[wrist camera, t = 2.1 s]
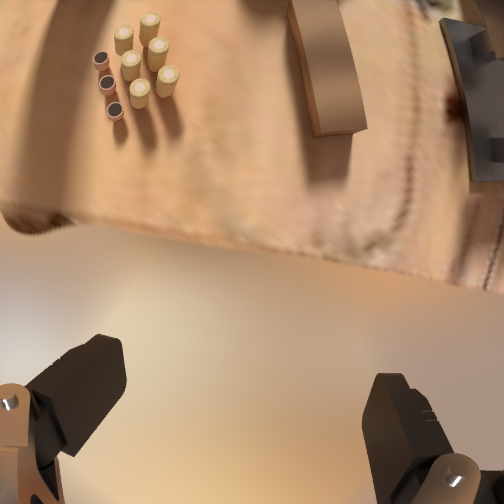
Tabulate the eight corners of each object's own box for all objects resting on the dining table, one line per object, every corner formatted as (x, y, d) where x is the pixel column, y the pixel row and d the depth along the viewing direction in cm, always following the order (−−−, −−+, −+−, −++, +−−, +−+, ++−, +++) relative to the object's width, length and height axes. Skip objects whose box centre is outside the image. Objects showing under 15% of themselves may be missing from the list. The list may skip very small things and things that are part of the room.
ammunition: (155, 6, 18) (73, 51, 19) (179, 78, 20) (90, 122, 21) (172, 26, 22) (99, 63, 23) (194, 91, 24) (116, 126, 25)
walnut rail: (287, 16, 22) (289, -7, 17) (325, 13, 21) (333, -9, 17) (312, 138, 25) (321, 132, 20) (352, 134, 24) (367, 128, 20)
